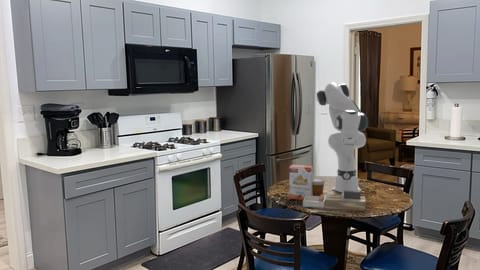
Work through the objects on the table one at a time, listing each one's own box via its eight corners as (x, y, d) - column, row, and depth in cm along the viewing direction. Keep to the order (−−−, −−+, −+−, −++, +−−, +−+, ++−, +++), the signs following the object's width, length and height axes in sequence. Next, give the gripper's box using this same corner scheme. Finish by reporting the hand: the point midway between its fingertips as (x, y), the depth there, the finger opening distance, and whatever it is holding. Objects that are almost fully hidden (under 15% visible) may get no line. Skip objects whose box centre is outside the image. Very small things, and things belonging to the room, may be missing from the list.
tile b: (323, 204, 236) (319, 204, 236) (323, 196, 235) (319, 196, 236) (322, 206, 231) (318, 206, 232) (322, 198, 231) (318, 198, 231)
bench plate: (326, 202, 241) (326, 194, 241) (364, 204, 235) (364, 196, 235) (325, 208, 230) (325, 199, 229) (365, 210, 224) (365, 202, 223)
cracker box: (289, 199, 249) (288, 166, 247) (292, 196, 255) (292, 164, 252) (311, 201, 243) (311, 167, 241) (313, 198, 249) (313, 165, 246)
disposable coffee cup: (316, 201, 242) (316, 182, 241) (305, 198, 250) (305, 179, 249) (328, 199, 247) (328, 180, 246) (317, 195, 255) (317, 177, 254)
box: (305, 200, 245) (305, 195, 244) (325, 202, 242) (325, 196, 241) (303, 206, 233) (303, 200, 233) (324, 208, 230) (324, 202, 230)
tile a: (324, 201, 241) (320, 201, 241) (324, 194, 240) (320, 194, 241) (323, 203, 236) (319, 203, 237) (323, 196, 236) (320, 196, 236)
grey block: (342, 194, 238) (342, 188, 238) (360, 195, 236) (360, 189, 235) (341, 200, 227) (341, 193, 226) (360, 201, 224) (360, 194, 224)
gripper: (344, 135, 240) (343, 158, 242) (343, 141, 220) (343, 166, 223) (355, 135, 238) (354, 158, 240) (355, 141, 219) (354, 166, 221)
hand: (349, 162), depth 231 cm, fingers open, 8 cm apart
